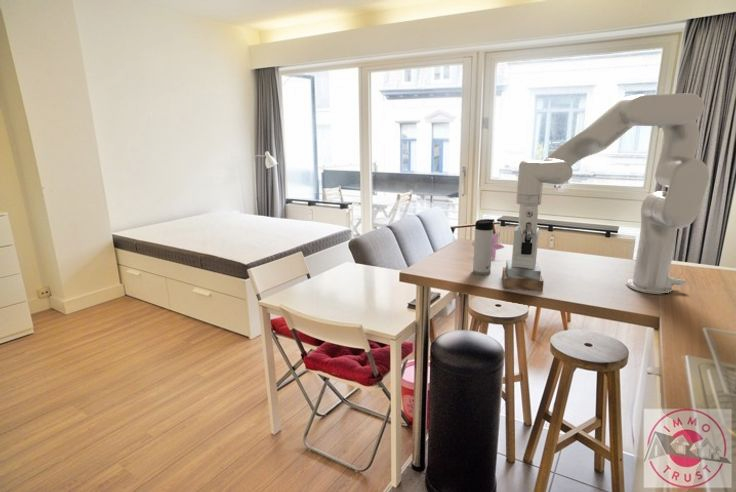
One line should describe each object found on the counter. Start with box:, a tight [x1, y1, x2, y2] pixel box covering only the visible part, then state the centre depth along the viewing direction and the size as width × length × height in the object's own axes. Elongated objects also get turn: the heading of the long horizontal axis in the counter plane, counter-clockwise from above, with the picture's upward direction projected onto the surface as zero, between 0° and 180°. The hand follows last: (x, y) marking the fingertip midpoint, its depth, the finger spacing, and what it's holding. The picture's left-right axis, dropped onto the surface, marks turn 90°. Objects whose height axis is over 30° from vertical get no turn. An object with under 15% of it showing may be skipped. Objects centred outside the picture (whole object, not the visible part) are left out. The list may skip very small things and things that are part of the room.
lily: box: [471, 231, 505, 261], centre depth 177 cm, size 12×12×10 cm
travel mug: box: [472, 218, 496, 276], centre depth 155 cm, size 6×7×20 cm
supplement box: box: [511, 225, 540, 269], centre depth 143 cm, size 7×7×13 cm
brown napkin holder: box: [501, 259, 544, 292], centre depth 146 cm, size 12×12×6 cm
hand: (524, 250), depth 143 cm, fingers open, 8 cm apart
